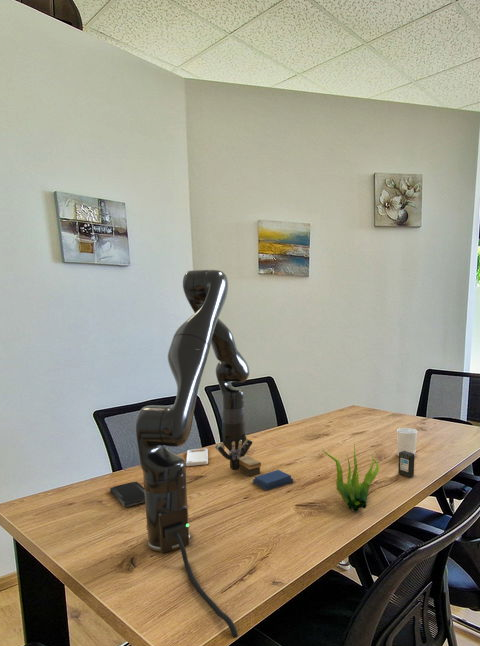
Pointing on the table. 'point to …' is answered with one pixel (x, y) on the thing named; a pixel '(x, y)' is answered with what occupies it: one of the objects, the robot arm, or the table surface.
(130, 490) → the phone
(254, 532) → the table surface
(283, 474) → the folded cloth
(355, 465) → the decorative plant
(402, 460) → the ink cartridge
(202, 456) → the phone case
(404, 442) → the white cup
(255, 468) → the tan two-tone block
